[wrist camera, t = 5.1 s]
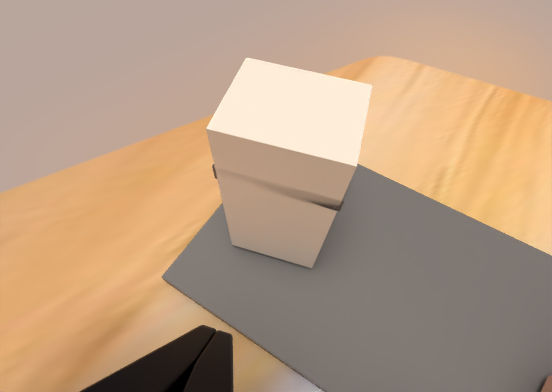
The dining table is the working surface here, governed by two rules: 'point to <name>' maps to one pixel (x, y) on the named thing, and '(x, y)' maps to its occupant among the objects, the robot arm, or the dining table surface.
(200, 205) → the dining table surface
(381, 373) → the grey base plate
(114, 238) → the dining table surface
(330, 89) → the white tall rectangular block
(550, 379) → the salmon pink block
